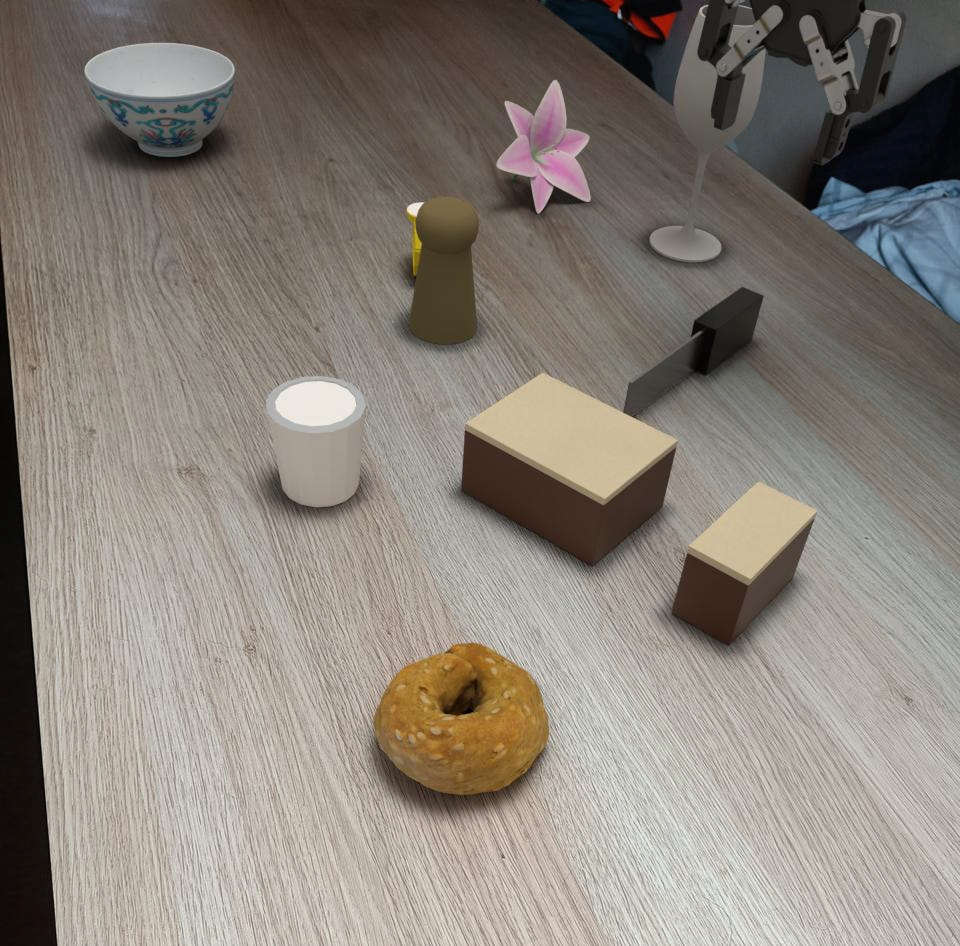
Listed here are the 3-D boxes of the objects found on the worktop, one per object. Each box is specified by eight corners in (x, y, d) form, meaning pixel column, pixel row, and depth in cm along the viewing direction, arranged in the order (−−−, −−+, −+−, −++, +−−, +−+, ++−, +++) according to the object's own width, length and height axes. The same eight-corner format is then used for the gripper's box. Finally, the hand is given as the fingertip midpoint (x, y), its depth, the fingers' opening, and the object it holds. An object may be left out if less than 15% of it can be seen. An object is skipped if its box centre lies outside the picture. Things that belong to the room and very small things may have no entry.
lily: (472, 221, 113) (516, 154, 105) (462, 132, 117) (502, 61, 109) (572, 247, 119) (621, 185, 111) (559, 161, 123) (604, 96, 115)
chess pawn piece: (400, 336, 95) (401, 213, 87) (419, 302, 99) (422, 182, 91) (467, 349, 95) (475, 226, 87) (484, 314, 99) (492, 194, 91)
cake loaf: (534, 438, 86) (542, 372, 82) (662, 506, 81) (678, 439, 77) (460, 490, 81) (464, 422, 77) (592, 566, 76) (605, 498, 72)
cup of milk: (253, 479, 81) (244, 398, 76) (327, 443, 84) (323, 363, 79) (312, 525, 78) (307, 444, 72) (386, 486, 81) (386, 406, 76)
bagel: (585, 730, 66) (596, 677, 63) (462, 841, 60) (466, 789, 57) (463, 644, 70) (467, 590, 67) (337, 740, 64) (334, 687, 61)
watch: (404, 254, 106) (405, 192, 101) (433, 254, 106) (435, 193, 102) (406, 285, 101) (407, 223, 97) (436, 286, 102) (438, 224, 97)
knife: (730, 331, 99) (742, 286, 96) (752, 340, 99) (764, 295, 95) (611, 419, 89) (619, 372, 86) (633, 430, 88) (643, 383, 85)
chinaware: (215, 182, 114) (206, 104, 108) (75, 163, 114) (59, 85, 109) (258, 126, 124) (252, 52, 118) (130, 109, 125) (118, 35, 119)
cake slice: (737, 547, 79) (758, 480, 74) (793, 576, 77) (818, 510, 73) (670, 612, 74) (688, 545, 69) (728, 646, 72) (750, 578, 68)
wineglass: (683, 220, 114) (729, -5, 99) (738, 250, 110) (795, 21, 95) (631, 239, 111) (671, 8, 95) (687, 270, 107) (737, 35, 92)
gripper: (960, -93, 71) (878, 159, 83) (767, -139, 77) (716, 103, 89) (911, -73, 67) (833, 189, 79) (711, -123, 73) (666, 128, 85)
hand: (771, 143), depth 84 cm, fingers open, 8 cm apart
